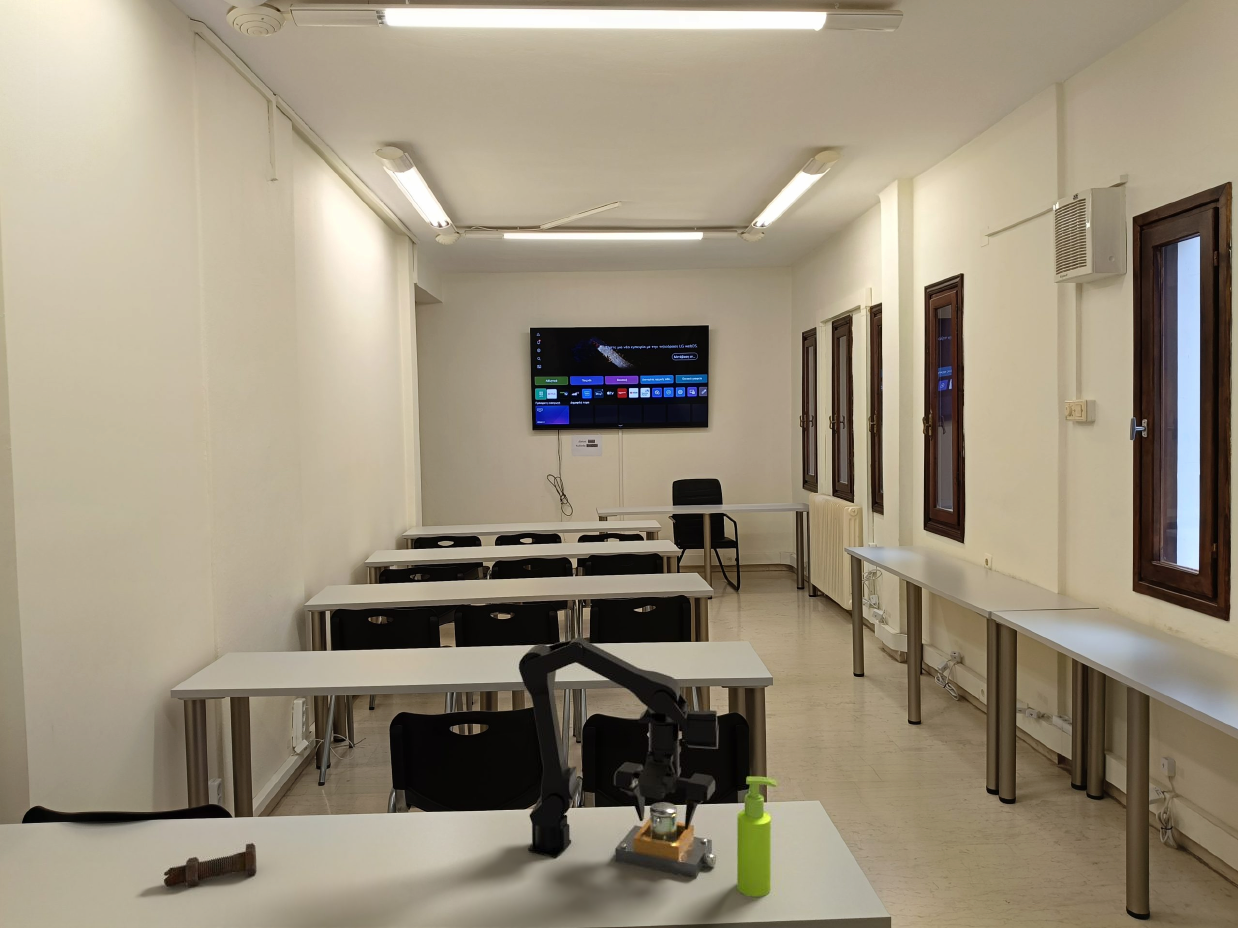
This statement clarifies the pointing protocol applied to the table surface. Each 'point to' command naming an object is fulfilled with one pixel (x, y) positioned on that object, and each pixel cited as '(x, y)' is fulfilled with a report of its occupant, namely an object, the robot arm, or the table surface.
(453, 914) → the table surface
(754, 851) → the soap dispenser
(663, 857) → the grey orange socket fixture
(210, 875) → the bolt
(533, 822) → the robot arm
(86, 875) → the table surface
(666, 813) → the spout can
